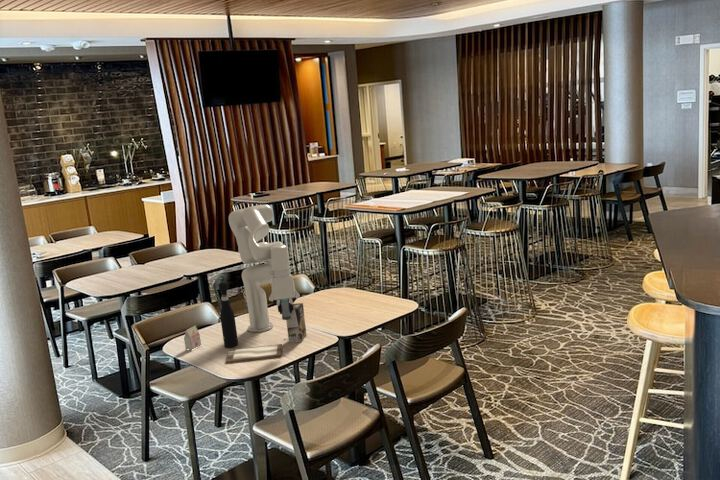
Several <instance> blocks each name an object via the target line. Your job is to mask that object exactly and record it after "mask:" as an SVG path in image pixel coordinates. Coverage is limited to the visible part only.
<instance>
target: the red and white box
mask: <svg viewBox="0 0 720 480" xmlns="http://www.w3.org/2000/svg"><path fill="white" fill-rule="evenodd" d="M183 341H184V346H185V347H184V348H185V350H186V349H189V350H192V349H194V348H196V347H198V346H200V345H201V346H202V341H201V334H200V333H199V330H198V328H197V325H194V326H191V327H190V328H188V329H186V330H185V333H184V337H183ZM201 346H200V347H201ZM198 348H199V347H198Z"/></svg>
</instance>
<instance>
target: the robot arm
mask: <svg viewBox="0 0 720 480" xmlns="http://www.w3.org/2000/svg"><path fill="white" fill-rule="evenodd" d="M273 219H274V211H273V208H272V207H271V206H270V205H269V204H265V203H264V204H258V205H252V206H248V207H246V208H240V209H236V210H234V211H232V212H230V213H229V215H228V224H229V227H230V229H231V231H232V233H233V235H234V237H235V239H236V244H237V247H238V248H237V249H238V251H239V258H240V259H241V261H242V263H243V264H245V265H252V264H256V265H252V266H248V267H246V268H244V269H243V270H242V272H241V279H242V282H243V287H244V290H245V294H246V303H247V309H248V311H247V312H248V317H249V326H247V331H248V332H249V333H261V332H267V331H269V330H272V329H273V327H274V324H273V322H270V317H269V310H268V309H269V307H268V300H269V301H270V302H272V303H273V304H275V305H276V306H277V311H278V313H279V315H282V311H281V304H280V300H281V299H289V302H290V304H289V306H290V313H292V311H293V304H295V301H296V300H298V299H299V298H300V297H301V295H300V293H299V292H298V291H297V289H296V288H295V282H294V277H293V275H292V274H291V270H290V261H289V253H288V251H289V250H288V247H287V245H285V244H283V242H281V241H272V242H266V241H262V242H261V240H262V239H264V238H265V237H266V236H268V234H269V232H270V227H269V224H268V223H269V222H272V221H273ZM257 263H264V264H259V265H257ZM266 284H271V293H270V295H269V297H268V300H267V294H266V291H265V290H264V289H263V287H261V285H266Z"/></svg>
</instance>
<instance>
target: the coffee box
mask: <svg viewBox="0 0 720 480" xmlns="http://www.w3.org/2000/svg"><path fill="white" fill-rule="evenodd" d="M285 321H286V327H287V328H286V329H287V337H288V338H287V339H288V343H302V342H304V340H305V338H306V337H307V336H308V335H307V326H306V318H305V309H304V303H303V302H299V303H293V311H292V313H291V319H288V320H285Z"/></svg>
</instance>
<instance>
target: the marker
mask: <svg viewBox="0 0 720 480" xmlns="http://www.w3.org/2000/svg"><path fill="white" fill-rule="evenodd" d="M280 304H281V311H282V314H281V319H282V320H283V321H286V320H288V319H291V313H290V306H289V304H290V301H289V299H281V300H280Z"/></svg>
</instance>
